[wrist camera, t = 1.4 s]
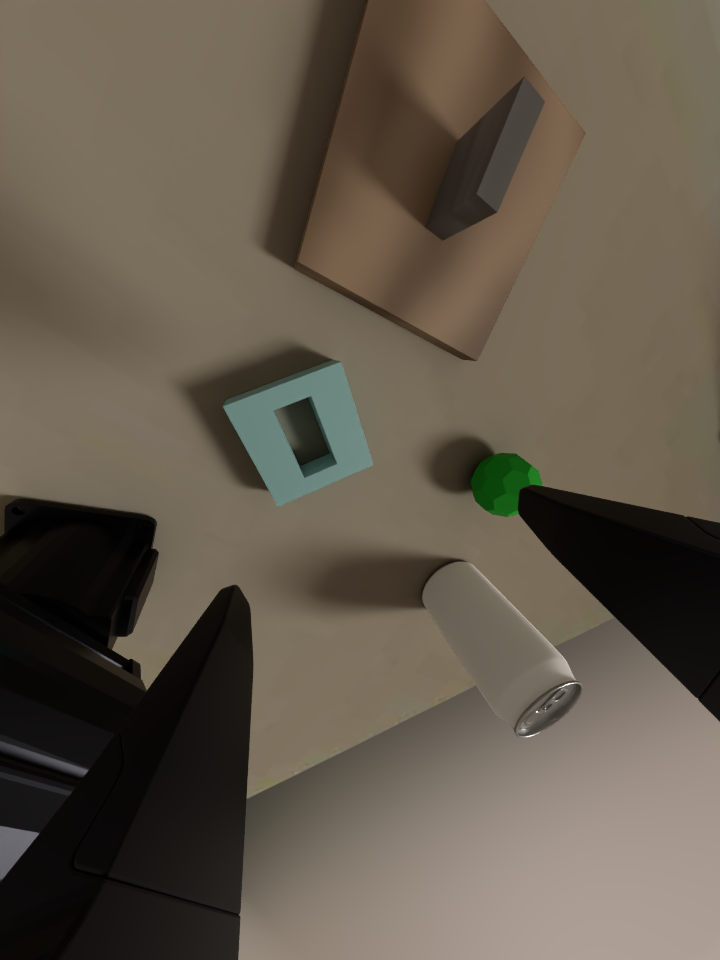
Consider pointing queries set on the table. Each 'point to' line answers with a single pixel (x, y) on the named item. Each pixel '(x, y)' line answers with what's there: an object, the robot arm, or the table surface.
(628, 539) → the robot arm
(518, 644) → the can
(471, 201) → the post base
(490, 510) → the polyhedron
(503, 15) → the table surface
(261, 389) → the slotted plate
